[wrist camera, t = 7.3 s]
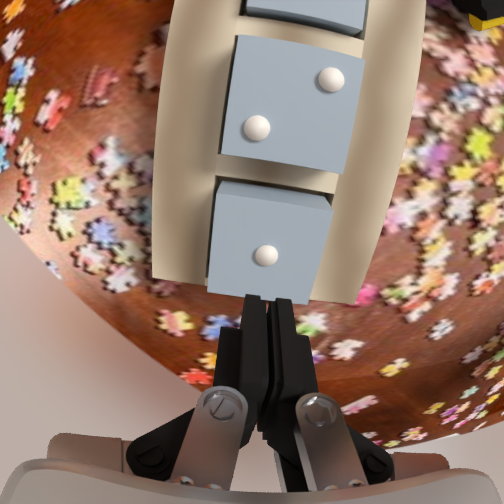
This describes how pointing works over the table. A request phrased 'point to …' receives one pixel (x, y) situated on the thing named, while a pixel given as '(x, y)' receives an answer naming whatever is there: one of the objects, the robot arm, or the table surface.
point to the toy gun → (482, 12)
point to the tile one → (267, 241)
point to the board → (269, 172)
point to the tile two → (292, 103)
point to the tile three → (313, 13)
